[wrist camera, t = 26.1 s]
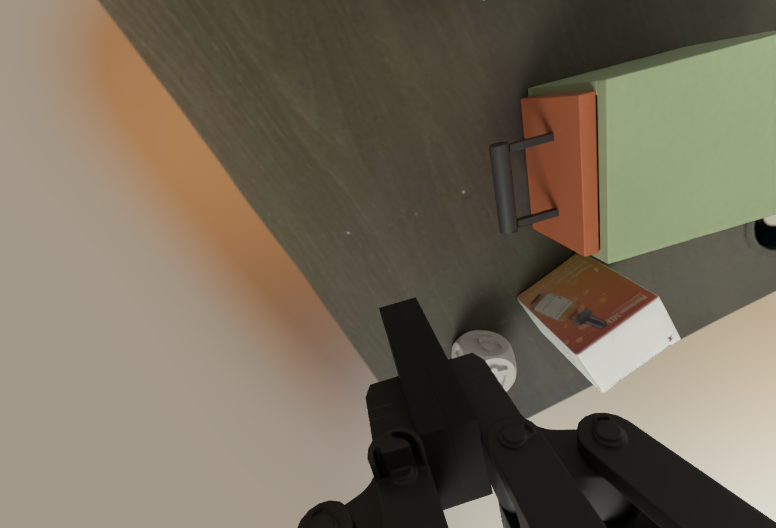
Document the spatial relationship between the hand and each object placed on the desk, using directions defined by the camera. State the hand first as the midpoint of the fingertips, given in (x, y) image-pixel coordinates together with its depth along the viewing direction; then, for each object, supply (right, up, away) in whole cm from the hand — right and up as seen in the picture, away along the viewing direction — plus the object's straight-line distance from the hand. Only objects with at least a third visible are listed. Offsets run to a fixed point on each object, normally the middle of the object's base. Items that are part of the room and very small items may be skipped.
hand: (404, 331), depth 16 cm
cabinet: (+20, +14, +20) cm, 32 cm away
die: (+9, -6, +26) cm, 29 cm away
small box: (+17, 0, +25) cm, 31 cm away
